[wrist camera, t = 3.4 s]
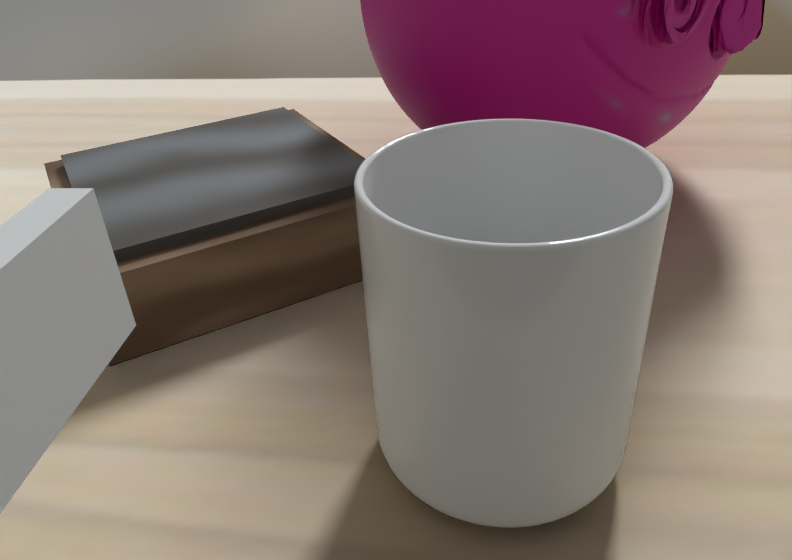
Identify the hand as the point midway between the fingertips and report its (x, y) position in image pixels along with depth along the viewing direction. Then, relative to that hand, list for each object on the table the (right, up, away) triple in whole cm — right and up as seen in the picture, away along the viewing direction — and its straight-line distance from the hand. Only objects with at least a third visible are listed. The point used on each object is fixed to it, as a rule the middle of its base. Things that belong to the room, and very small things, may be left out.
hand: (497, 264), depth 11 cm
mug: (+3, -6, +16) cm, 17 cm away
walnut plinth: (-12, +2, +29) cm, 31 cm away
